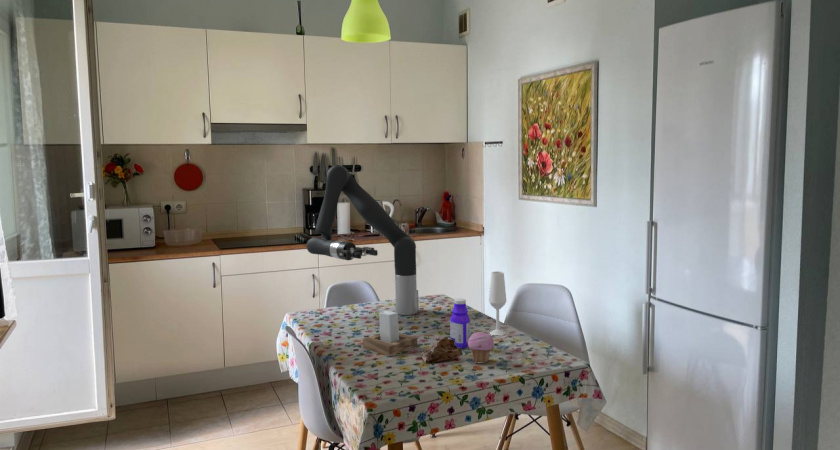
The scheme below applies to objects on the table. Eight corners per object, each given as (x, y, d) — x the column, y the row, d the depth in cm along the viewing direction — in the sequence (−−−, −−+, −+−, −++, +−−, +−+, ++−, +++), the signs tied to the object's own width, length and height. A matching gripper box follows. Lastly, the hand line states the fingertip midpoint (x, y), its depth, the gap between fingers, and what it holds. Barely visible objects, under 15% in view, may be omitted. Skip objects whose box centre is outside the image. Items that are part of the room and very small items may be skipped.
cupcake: (467, 357, 220) (467, 329, 219) (492, 357, 220) (492, 328, 219) (468, 366, 211) (468, 336, 210) (494, 366, 211) (494, 336, 210)
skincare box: (399, 345, 231) (399, 312, 230) (390, 348, 228) (389, 315, 227) (388, 341, 236) (388, 309, 234) (379, 344, 233) (378, 312, 231)
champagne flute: (486, 335, 245) (486, 273, 242) (492, 330, 251) (492, 270, 248) (502, 337, 242) (502, 275, 239) (508, 332, 248) (508, 271, 245)
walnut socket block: (391, 339, 242) (390, 330, 242) (417, 346, 232) (417, 337, 232) (362, 348, 232) (362, 338, 232) (389, 356, 222) (389, 346, 222)
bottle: (473, 346, 232) (472, 299, 230) (463, 350, 228) (462, 302, 226) (457, 342, 237) (457, 296, 235) (447, 345, 233) (447, 299, 231)
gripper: (328, 243, 259) (354, 247, 248) (355, 239, 269) (381, 242, 258) (329, 261, 260) (355, 266, 249) (356, 256, 270) (382, 261, 259)
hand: (368, 254), depth 254 cm, fingers open, 8 cm apart
